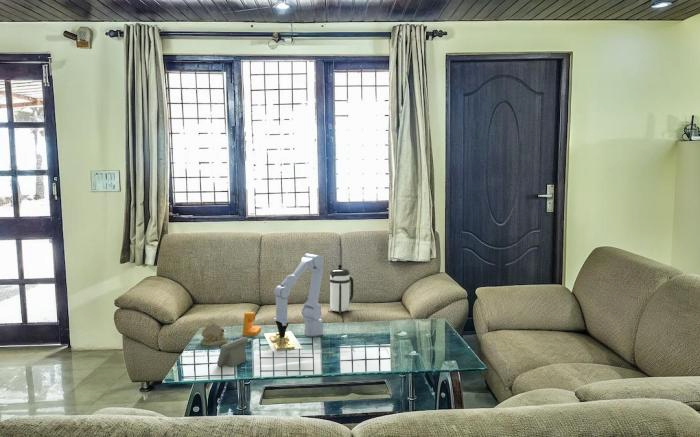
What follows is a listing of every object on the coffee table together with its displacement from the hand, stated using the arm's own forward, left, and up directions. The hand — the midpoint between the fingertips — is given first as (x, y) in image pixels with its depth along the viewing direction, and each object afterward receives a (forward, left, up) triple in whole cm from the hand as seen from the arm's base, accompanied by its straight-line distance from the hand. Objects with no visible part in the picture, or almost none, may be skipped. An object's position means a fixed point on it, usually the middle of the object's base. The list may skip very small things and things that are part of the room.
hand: (281, 335), depth 262 cm
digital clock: (+26, +17, -5) cm, 32 cm away
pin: (0, 0, -2) cm, 2 cm away
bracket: (+12, -22, -5) cm, 26 cm away
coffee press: (-47, -51, -5) cm, 70 cm away
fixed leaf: (0, +4, -4) cm, 5 cm away
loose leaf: (0, -7, -4) cm, 8 cm away
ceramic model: (+32, -14, -5) cm, 36 cm away
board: (-1, -4, -5) cm, 6 cm away
